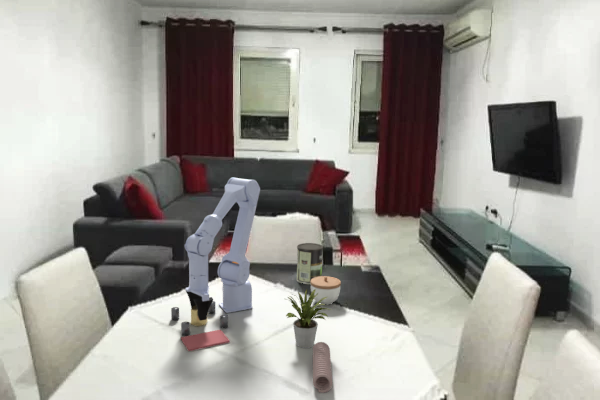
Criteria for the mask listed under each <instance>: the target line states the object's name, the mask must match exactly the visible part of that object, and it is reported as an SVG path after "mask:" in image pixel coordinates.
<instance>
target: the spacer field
mask: <svg viewBox="0 0 600 400" xmlns="http://www.w3.org/2000/svg"><path fill="white" fill-rule="evenodd" d="M170 312H171V313H170V314H171V317H170V318H171V320H172V321H179V320H180V307H177V306H173V307H171V308H170ZM208 314H209V315H211V314H212V315H213V314H216V301H215V300H213V302H212V303H211V305H210V307H209V310H208ZM190 324H191V322H189V321H183V322H181V323H180V326H181V328H180V329H181V330H180V333H181V337H185V336H190V334H191V332H190ZM219 328H220V329H227V328H229V315H228V314H220V316H219Z"/></svg>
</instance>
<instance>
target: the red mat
mask: <svg viewBox="0 0 600 400" xmlns="http://www.w3.org/2000/svg"><path fill="white" fill-rule="evenodd" d="M180 340H181V341H182V343H183V345H184V347H185V349H187V351H188V352H192V351H196V350H201V349H206V348H211V347H215V346H219V345H224V344H229V343H230V342H231V341H230V340H231V339H229V338H228V337H227V335H226V334H225V333H224V331H223V330H222V328H220V329H215V330H212V331H205V332H200V333H196V334H191V335H188V336H181V337H180Z"/></svg>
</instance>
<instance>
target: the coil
mask: <svg viewBox="0 0 600 400" xmlns="http://www.w3.org/2000/svg"><path fill="white" fill-rule="evenodd" d="M332 372H333V371H332V361H331V349H330V346H329V345H328V344H327V343H326V342H323V341H320V342H319V341H318V342H317V343H314V345H313V346H312V385H313V386H314V388H315V389H316V390H318V391H317V392H318V393H319V394H320V393H322V394H324V393H328V392H329V391H331V389H332V387H333V374H332Z"/></svg>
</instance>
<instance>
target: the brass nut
mask: <svg viewBox="0 0 600 400" xmlns="http://www.w3.org/2000/svg"><path fill="white" fill-rule="evenodd" d="M207 323H208V317H207V318H206V320H201V321H200V320H199V318H198V311H197V307H196V306H193V307H192V309H191V308H190V324H191V326H194V327H202V326H206V325H207Z"/></svg>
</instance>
